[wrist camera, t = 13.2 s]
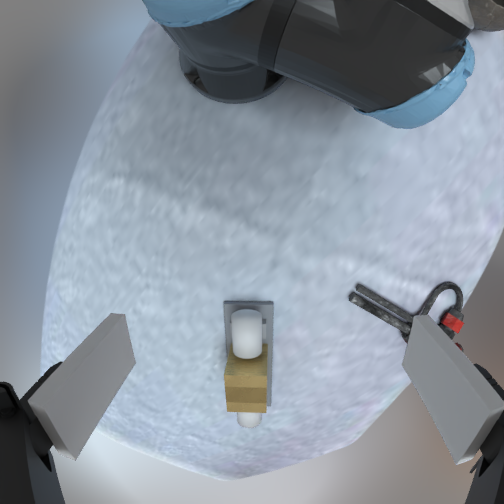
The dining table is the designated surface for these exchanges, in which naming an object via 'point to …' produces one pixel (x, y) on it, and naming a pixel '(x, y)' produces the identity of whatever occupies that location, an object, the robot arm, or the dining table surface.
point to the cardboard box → (246, 382)
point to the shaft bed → (269, 335)
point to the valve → (450, 319)
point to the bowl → (487, 14)
